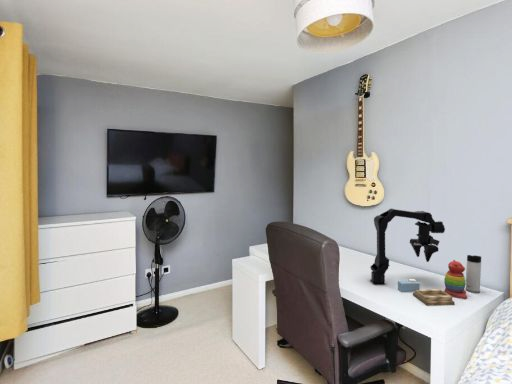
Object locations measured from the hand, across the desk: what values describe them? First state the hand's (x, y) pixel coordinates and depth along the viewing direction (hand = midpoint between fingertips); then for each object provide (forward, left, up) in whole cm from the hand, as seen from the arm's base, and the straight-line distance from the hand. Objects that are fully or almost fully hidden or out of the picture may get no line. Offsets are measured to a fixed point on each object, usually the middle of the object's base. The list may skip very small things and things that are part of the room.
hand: (422, 259), depth 171 cm
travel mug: (+20, -14, -14) cm, 28 cm away
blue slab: (-14, -11, -14) cm, 22 cm away
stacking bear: (+8, -17, -14) cm, 23 cm away
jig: (-8, -23, -14) cm, 28 cm away
